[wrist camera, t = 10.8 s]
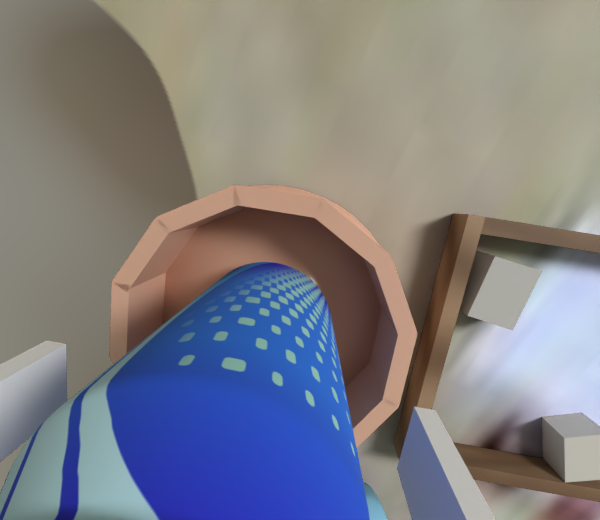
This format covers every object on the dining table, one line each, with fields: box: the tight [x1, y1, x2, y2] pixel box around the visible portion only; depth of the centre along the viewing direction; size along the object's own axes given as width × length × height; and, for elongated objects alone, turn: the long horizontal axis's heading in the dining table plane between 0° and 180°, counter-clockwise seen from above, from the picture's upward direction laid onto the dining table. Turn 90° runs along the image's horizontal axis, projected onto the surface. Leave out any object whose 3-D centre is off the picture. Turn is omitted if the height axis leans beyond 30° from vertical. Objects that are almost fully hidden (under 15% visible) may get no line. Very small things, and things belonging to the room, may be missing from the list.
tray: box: [394, 214, 600, 502], centre depth 20 cm, size 18×18×2 cm
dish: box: [109, 185, 417, 448], centre depth 19 cm, size 18×18×5 cm
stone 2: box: [542, 413, 600, 483], centre depth 21 cm, size 4×3×2 cm
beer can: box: [0, 262, 370, 520], centre depth 12 cm, size 8×8×16 cm
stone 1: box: [460, 251, 542, 330], centre depth 19 cm, size 4×3×2 cm
